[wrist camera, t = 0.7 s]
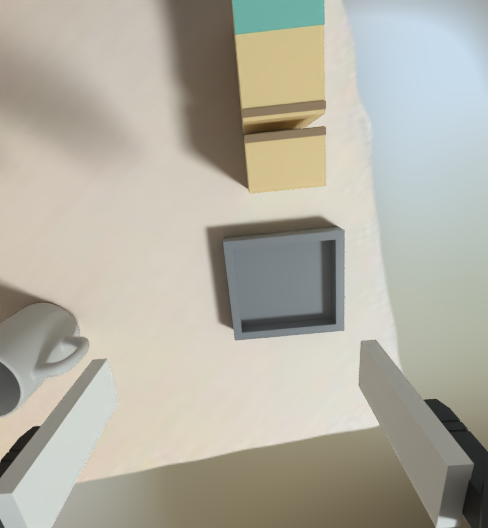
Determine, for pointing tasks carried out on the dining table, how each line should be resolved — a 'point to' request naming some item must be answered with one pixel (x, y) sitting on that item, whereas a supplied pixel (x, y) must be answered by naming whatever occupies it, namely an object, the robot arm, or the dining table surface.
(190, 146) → the dining table surface
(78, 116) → the dining table surface
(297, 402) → the dining table surface
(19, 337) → the mug
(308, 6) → the tan teal-banded block
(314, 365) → the dining table surface
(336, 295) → the tray
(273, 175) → the plain tan block
